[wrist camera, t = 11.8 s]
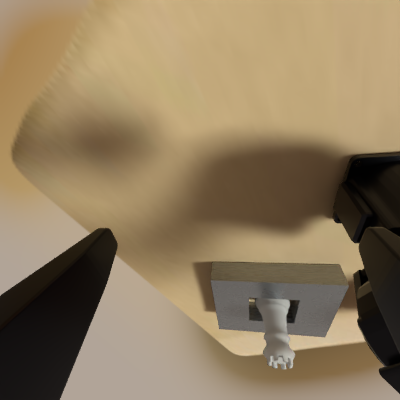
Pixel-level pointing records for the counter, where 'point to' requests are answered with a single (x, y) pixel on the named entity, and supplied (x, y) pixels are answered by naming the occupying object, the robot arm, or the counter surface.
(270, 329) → the rook chess piece
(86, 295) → the robot arm
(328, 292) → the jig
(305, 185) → the counter surface
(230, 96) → the counter surface
